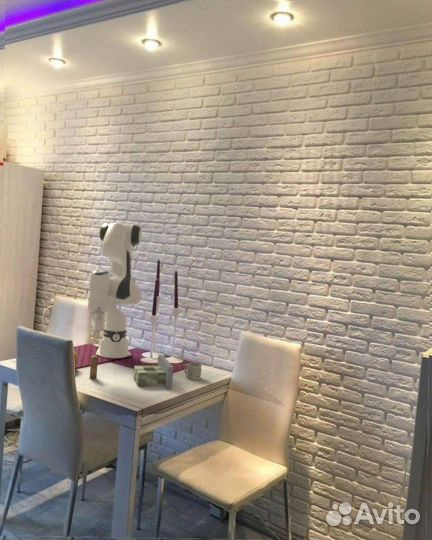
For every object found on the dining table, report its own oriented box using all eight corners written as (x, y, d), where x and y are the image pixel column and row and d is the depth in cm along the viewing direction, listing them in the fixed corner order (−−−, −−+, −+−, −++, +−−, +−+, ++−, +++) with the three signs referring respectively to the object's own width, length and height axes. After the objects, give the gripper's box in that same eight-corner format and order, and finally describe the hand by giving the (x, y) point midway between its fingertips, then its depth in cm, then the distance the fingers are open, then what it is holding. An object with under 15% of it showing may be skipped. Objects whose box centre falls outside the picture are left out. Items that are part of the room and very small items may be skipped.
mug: (203, 379, 232) (204, 365, 231) (193, 381, 227) (194, 367, 226) (189, 373, 238) (190, 360, 238) (179, 375, 234) (180, 362, 233)
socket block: (133, 378, 223) (134, 365, 222) (158, 378, 226) (159, 365, 226) (137, 386, 211) (138, 373, 211) (164, 386, 215) (165, 372, 215)
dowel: (89, 377, 219) (90, 355, 218) (96, 377, 220) (97, 355, 219) (89, 379, 216) (91, 357, 215) (96, 379, 217) (98, 357, 216)
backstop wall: (156, 375, 231) (158, 354, 231) (160, 375, 232) (162, 354, 231) (167, 389, 210) (168, 367, 210) (171, 389, 211) (173, 367, 211)
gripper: (107, 310, 207) (105, 342, 208) (103, 303, 226) (101, 332, 227) (92, 309, 205) (90, 342, 206) (89, 302, 224) (87, 332, 225)
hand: (96, 337), depth 217 cm, fingers open, 8 cm apart
